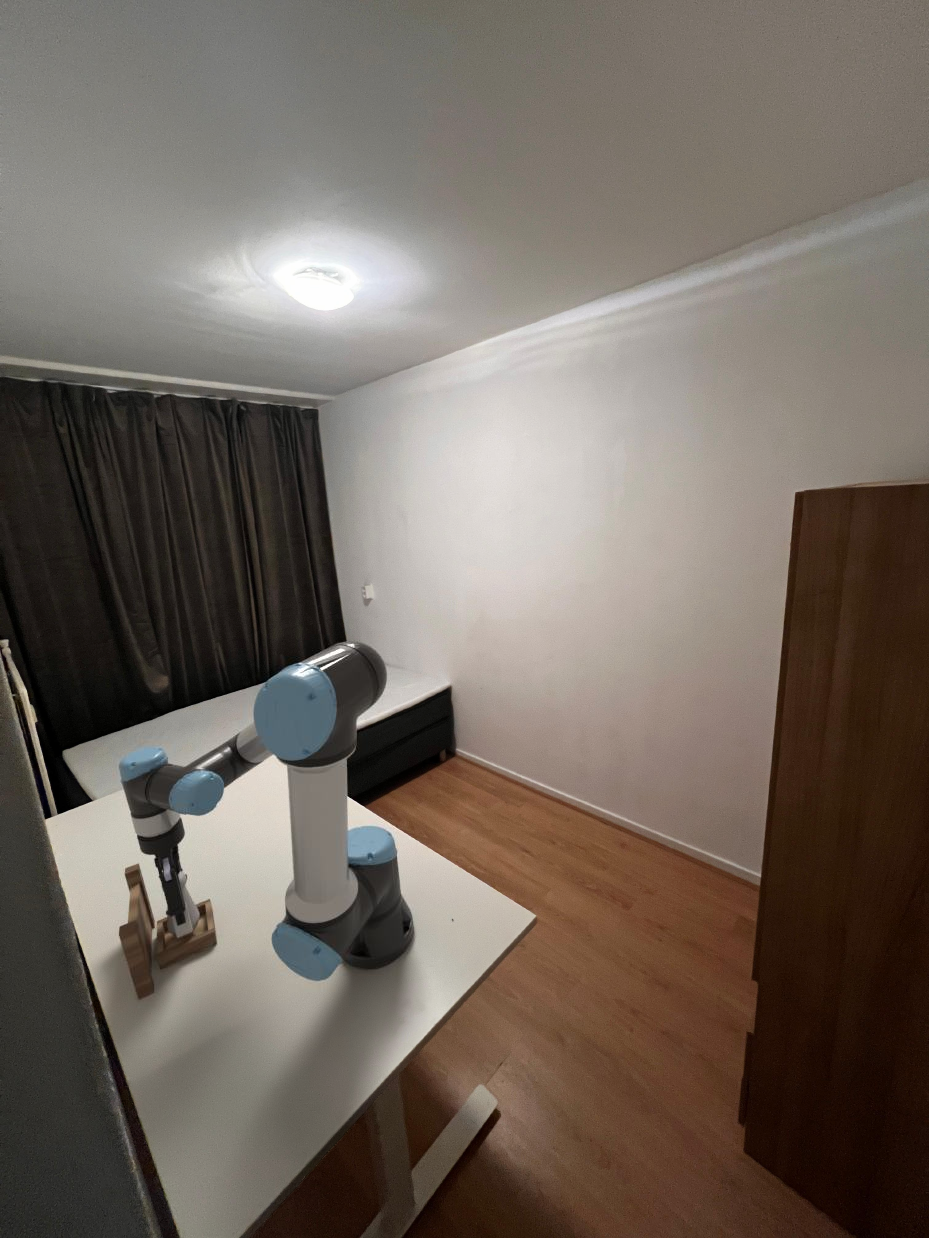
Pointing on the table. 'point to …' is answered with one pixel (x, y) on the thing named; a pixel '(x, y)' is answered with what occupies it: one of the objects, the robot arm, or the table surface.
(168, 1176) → the table surface
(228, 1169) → the table surface
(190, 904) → the salt shaker
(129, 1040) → the table surface
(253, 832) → the table surface
